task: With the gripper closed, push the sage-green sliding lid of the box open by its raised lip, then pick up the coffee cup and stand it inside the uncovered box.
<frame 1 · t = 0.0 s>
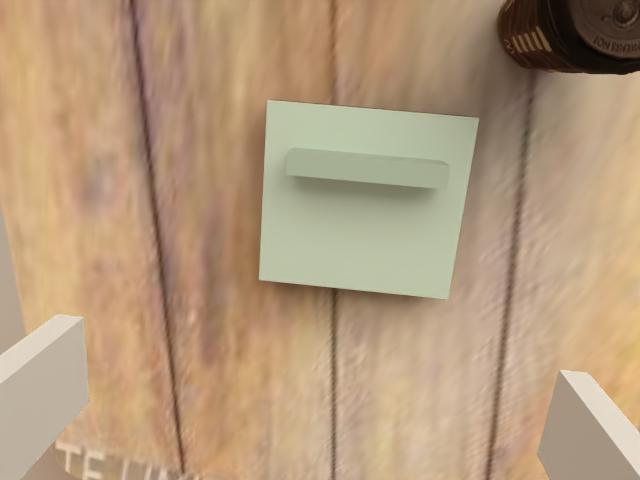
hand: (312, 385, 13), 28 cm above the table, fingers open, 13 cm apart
coffee cup: (540, 24, 35), on the table
lid: (362, 207, 35), point 5 cm above the table, slide at 0.0 cm
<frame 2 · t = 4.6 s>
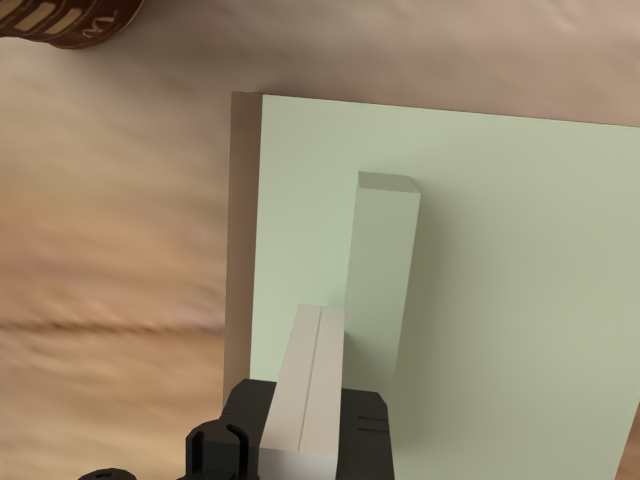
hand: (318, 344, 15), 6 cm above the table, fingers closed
box: (403, 289, 21), on the table
lid: (455, 353, 16), point 5 cm above the table, slide at 1.2 cm, touching gripper
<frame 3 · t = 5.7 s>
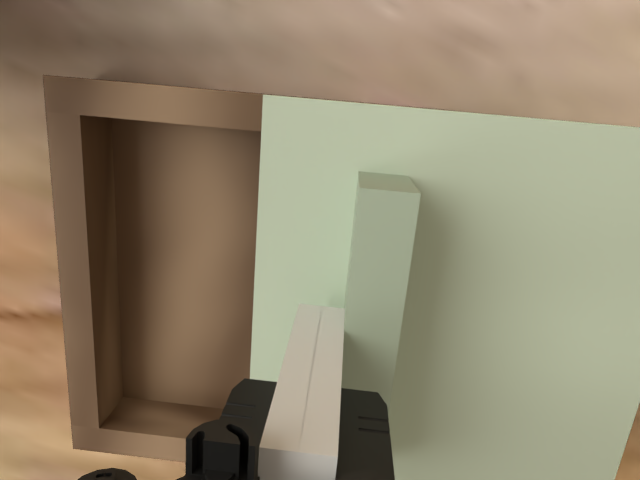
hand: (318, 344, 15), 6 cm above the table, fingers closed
box: (257, 273, 21), on the table
lid: (456, 353, 16), point 5 cm above the table, slide at 7.7 cm, touching gripper
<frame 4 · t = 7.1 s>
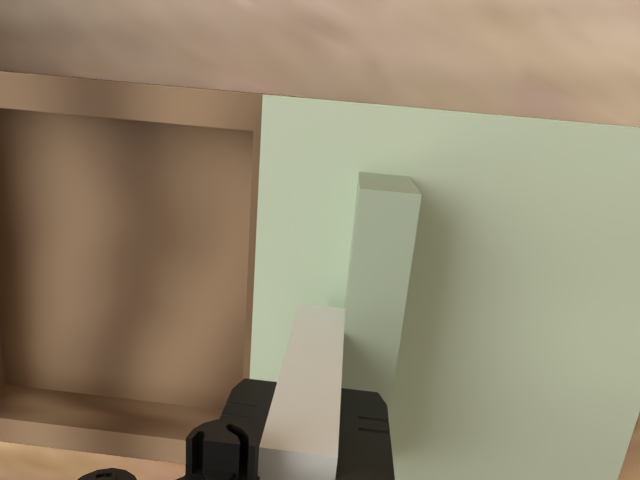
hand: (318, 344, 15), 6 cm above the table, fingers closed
box: (133, 261, 21), on the table
lid: (457, 355, 15), point 5 cm above the table, slide at 13.2 cm, touching gripper
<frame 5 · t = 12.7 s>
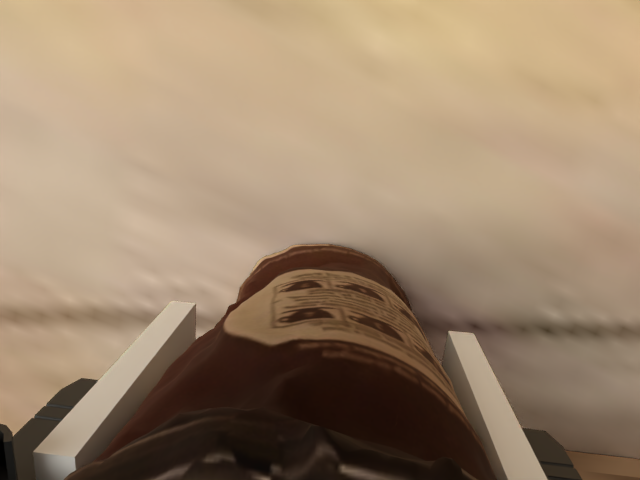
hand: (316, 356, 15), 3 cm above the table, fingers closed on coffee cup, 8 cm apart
coffee cup: (323, 315, 17), on the table, touching gripper
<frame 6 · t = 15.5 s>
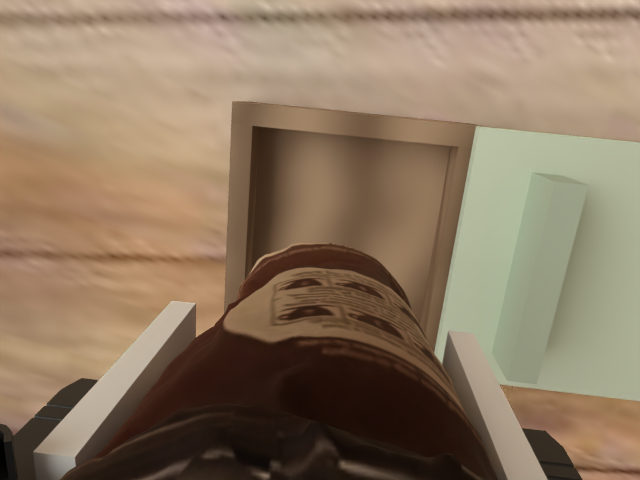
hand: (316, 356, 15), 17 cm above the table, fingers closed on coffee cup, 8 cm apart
box: (343, 230, 31), on the table
coffee cup: (323, 314, 17), point 14 cm above the table, touching gripper
lid: (587, 282, 26), point 5 cm above the table, slide at 13.5 cm
when the fingers open (5 cm above the table, at t = 18.3 s): coffee cup drops 1 cm, resting on box.
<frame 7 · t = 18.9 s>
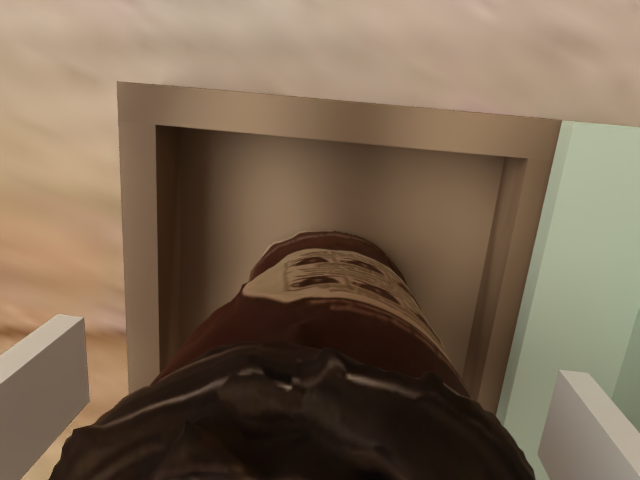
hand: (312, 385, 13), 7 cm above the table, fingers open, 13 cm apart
box: (326, 291, 20), on the table
coffee cup: (328, 297, 19), point 1 cm above the table, touching box
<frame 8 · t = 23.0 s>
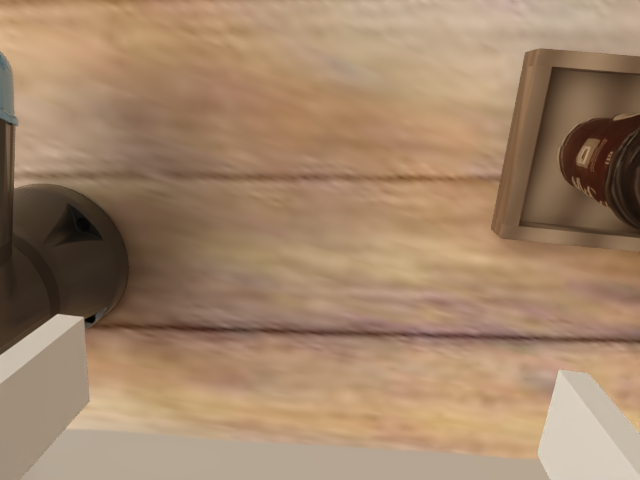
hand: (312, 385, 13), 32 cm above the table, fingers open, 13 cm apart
box: (588, 152, 41), on the table
coffee cup: (594, 152, 40), point 1 cm above the table, touching box
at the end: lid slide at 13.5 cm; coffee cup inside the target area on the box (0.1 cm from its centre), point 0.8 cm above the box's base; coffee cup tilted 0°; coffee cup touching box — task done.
